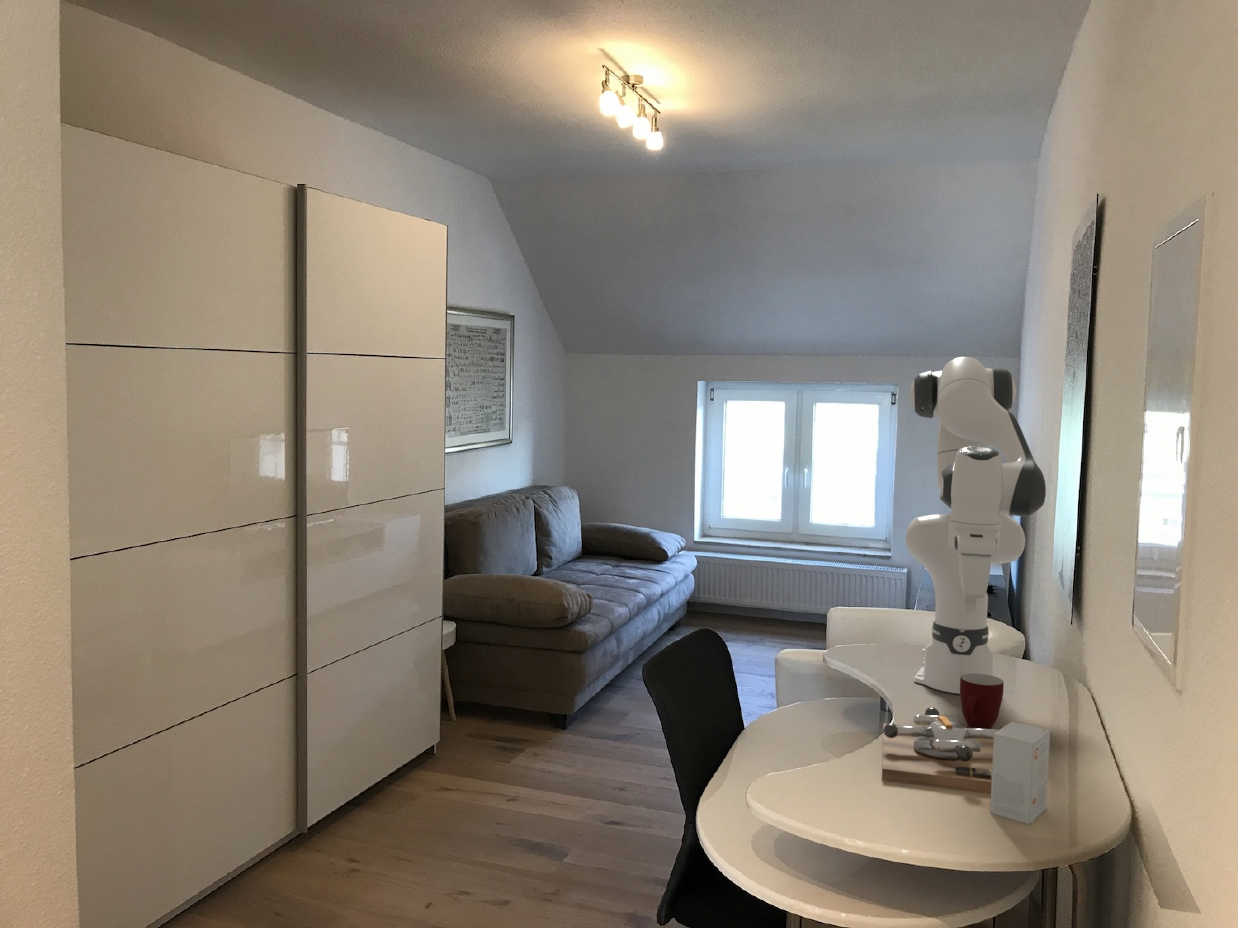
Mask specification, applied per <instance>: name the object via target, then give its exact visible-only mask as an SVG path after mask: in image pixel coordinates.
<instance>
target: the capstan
mask: <svg viewBox="0 0 1238 928" xmlns="http://www.w3.org/2000/svg"><path fill="white" fill-rule="evenodd" d="M912 721H913V723H914V724H915V725H916V726H915V725H912V726H911V725H910V726H909V725H903V726H896V725H897V724H896V723H895V724H894V723H892V722H889V723H885V724H886V725H885V727H884V734H885V735H886V736H887V737H888V738H895V737H896V736H908V737H924V738H919V739H917V740H915V741H914V750H915V751H916V752H918V753H920V754H922V755H924V756H927V757H931V758H935V759H942V760H956V759H960V760H962V761H969V760H970V759H971V758H972V756H973V752H980V750H981V745H980V742H979V741H965V739H992V740H994V733H996V732H997V731H999V730H1000V729H1002V728H1003V727H1004V726H1001V727H999V728H996V729H995V728H991V729H975V728H969V727H968V728H967V727H966V726H964V725H962V724H960V723H959V721H958V716H956V715H940V712H939V710H938V709H937V708H935V707H933V706H930V707H927V708H926V709H925V710H924V714H915V715H914V716H913V717H912ZM917 725H918V726H917Z"/></svg>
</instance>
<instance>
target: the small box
mask: <svg viewBox="0 0 1238 928" xmlns="http://www.w3.org/2000/svg"><path fill="white" fill-rule="evenodd" d="M1002 727H1003V728H1002V729H1000V730H999V731H997V732H996V733H994V740H993V762H992V784H991V793H990V806H989V807H990V808H989V812H990V814H993V815H996V816H999V817H1003V818H1006V819H1010V820H1013V821H1015V822H1019V823H1023V824H1027V825H1030V824H1032V823H1033V822H1034V821H1035V819H1037V818H1038V817H1040V815H1041V814H1042V813H1043V812H1044V811H1045V810H1047V800H1048V799H1047V798H1048V795H1047V794H1048V793H1047V792H1048V779H1049V778H1048V775H1049V760H1050V741H1051V731H1050V730H1049V729H1045V728H1041V727H1037V726H1033V725H1028V724H1024V723H1020V722H1019V723H1018V722H1015V721H1011V722H1009V723H1007V724H1006V725H1004V726H1002Z"/></svg>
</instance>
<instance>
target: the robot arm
mask: <svg viewBox="0 0 1238 928" xmlns="http://www.w3.org/2000/svg"><path fill="white" fill-rule="evenodd" d="M913 379H914V380H913V382H912V384H911V386H910V391H909V398H910V404H911V406H912V408H913V409H914V413H916V414H917V415H918V416H919V417H921V418H926V419H933V418H939V425H938V426H939V427H938V429H937V430H938V431H937V442H936V462H937V463H936V464H937V466H936V467H937V469H936V470H937V486H938V488H939V490H940V495H939V496H940V497H939V499H940V501H942V503H944V505H946V506H947V507H948V508H949V509H951V512H950V513H949V514H945V513H942V514H941V513H934V514H928V515H922V516H917V517H914V519H912V521H911V522H910V523H909V525H908V527H907V529H906V532H905V543H906V546H907V547H906V548H907V550H908V552H909V553H910V554H911V556H912V557H913V558H914V559H915V560H917V561H918V562H919V563H920V564H921V565H922V566H923V567H924V568H925V569H926V571H927V572H928V574H929V576H930V578H931V581H932V584H933V588H934V597H935V598H934V599H935V601H934V603H935V607H934V608H935V613H934V614H935V615H934V621H932V627H931V630H932V631H931V636H932V640H931V641H930V643H927V645H926V646H925V648H923V649H922V651H921V653H922V654H921V658H922V659H923V661H922V663H921V668H920V669H918V671H917V673H916V674H915V676H914V679H913V681H914V683H917V684H921V685H925V686H927V687H930V688H931V689H935V690H938V691H942V692H946V693H951V694H958V695H960V677H961V676H962V675H964V674H971V673H975V674H986V675H991V676H995V652H994V651H992V649H991V648H990V647H989V646H988V642H989V636H990V635H989V634H990V632H989V626H988V624H987V623H988V605H989V596H988V592H987V590H988V587H989V586H988V585H989V580H990V574H991V569H992V565H1001V564H1008V563H1013V562H1016V561H1017V560H1018V559H1019V558H1020V557H1021V555H1022V554H1023V552H1024V549H1025V546H1026V536H1025V531H1024V529H1023V528H1022V525H1021V524H1020V523H1019V522H1018V521H1017V520H1016V519H1015V518H1013V517H1012V516H1016V517H1025V518H1028V517H1029V516H1031V515H1033V514H1035V513H1036V512H1037V511H1039V510H1040V509H1041V508H1042V507H1043V506H1044V504H1045V500H1046V496H1047V495H1046V494H1047V483H1046V480H1045V476H1044V474H1043V471H1042V470H1041V469H1040V467H1039V466H1038V464H1037V462H1036V460H1035V459H1034V456H1033V454H1032V452H1031V450H1030V447H1029V444H1028V442H1027V439H1026V437H1025V435H1024V432H1023V431H1022V428H1021V426H1020V424H1019V422H1018V420H1017V418H1016V416H1015V415H1014V414H1013V412H1011V411H1010V410H1011V409H1012V407H1013V404H1014V402H1015V399H1016V393H1017V387H1016V383H1015V380H1014V379H1013V377H1012V373H1011V372H1010V371H1009V370H1008V369H1006V368H1003V367H994V366H993V367H991V368H989V367H985V366H984V364H983V363H982V362H981V361H979V359H976V358H974V357H970V356H960V357H959V356H958V357H955V358H953V359H951V360H950V361H948V362H947V363H946V364H945V365H944V367H943V368H942V370H937V371H932V370H928V371H924V372H921V373H919V374H917V375H916V376H915V377H914V378H913ZM989 446H991V447H989ZM992 447H994V448H992ZM995 448H996V449H998V450H996V449H995ZM999 451H1000V452H1001V453H1002V454H1003V455H1001V453H1000V452H999ZM1002 456H1003V458H1004V460H1005V462H1002Z"/></svg>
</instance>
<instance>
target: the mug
mask: <svg viewBox="0 0 1238 928" xmlns="http://www.w3.org/2000/svg"><path fill="white" fill-rule="evenodd" d="M1004 684H1005V683H1004V680H1003V679H1002V678H1000V677H998V676H995V675H994V676H991V675H986V674H975V673H971V674H964V675H962V676H961V677H960V694H959V695H960V703H961V710H962V715H963V718H964V721H965V722H966V724H967V727H968V728H975V729H993V727H994V725H995V723H997V722H996V721H997V720H998V718H999V713H1000V710H1001V706H1002V701H1003V696H1004V686H1005V685H1004Z"/></svg>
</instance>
